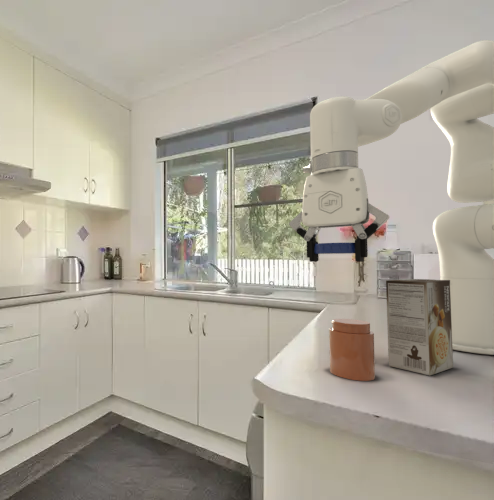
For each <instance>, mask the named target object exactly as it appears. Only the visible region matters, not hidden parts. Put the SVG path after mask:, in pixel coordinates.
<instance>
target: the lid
mask: <svg viewBox="0 0 494 500" xmlns="http://www.w3.org/2000/svg"><path fill="white" fill-rule="evenodd" d="M315 254H318V255H346V254H347V255H348V254H349V255H350V254H351V255H353V254H355V242H321V243H320V242H318V244H315Z"/></svg>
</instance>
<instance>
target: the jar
mask: <svg viewBox="0 0 494 500" xmlns="http://www.w3.org/2000/svg"><path fill="white" fill-rule="evenodd" d="M330 322H331V325H332V327H329V328H328V338H329V340H328V341H329V342H328V343H329V345H328V346H329V347H328V348H329V372H330V373H331V374H332V375H334V376H337V377H339V378H342V379H347V380H352V381H359V382H360V381H361V382H370V381H373V380H375V379H376V361H375V359H376V357H375V332H374V331H371V323H370V322H369V321H366V320H363V319H362V320H361V319H353V318H333V319H331V321H330Z"/></svg>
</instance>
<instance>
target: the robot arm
mask: <svg viewBox="0 0 494 500" xmlns="http://www.w3.org/2000/svg"><path fill="white" fill-rule="evenodd" d="M428 110H429V111H430V115H431V118H432V120H433V122H434V123H435V124H436V126H437V127H438V128H439V129H440V130H441V132H442V133H443V134H444V136H445V137H446V139H447V140H448V143H449V145H450V159H449V167H448V177H447V184H446V185H447V186H446V192H447V195H448V197H449V198H450V200H452V201H453V202H456V203H460V204H472V203H483V202H491V201H494V126H492V125H490V124H488V123H486V122H483V121H482V120H480V119H479V118H484V117H487V116H490V115H493V114H494V40H489V39H488V40H487V39H482V40H478V41H475V42H473V43H471V44H468V45H467V46H464V47H462V48H460V49H458V50H456V51H454V52H451V53H450V54H449V53H448V54H447V55H445V56H442V57H440V58H439V59H436V60H434V61H432V62H429V63H428V64H426V65H424V66H422V67H420V68H419V69H416V70H415V71H413V72H411V73H410V74H408V75H406V76H404V77H403V78H400V79H398V80H397V81H395V82H393V83H392V84H389V85H387V86H386V87H384V88H382V89H380V90H379V91H377V92H375V93H374V94H372V95H370V96H368V97H367V98H365V99H354V98H352V97H351V96H342V95H341V96H333V97H330V98H327V99H324V100H321V101H319V102H318V103H316V104H315V105H314V106H312V108H311V110H310V113H309V136H310V160H309V163H308V164H307V165H303V167H302V172H303V173H304V174H310V175H307V176H306V177H305V181H304V187H303V194H302V205H301V211H300V212H299V213H298V214H297V215H296V216H295V217H294V218H292V219H291V220H290V222H289V224H288V225H289V226H290V227H291V228H292V229H293V230H294V231H295V232H296V234H298V235H299V236H300V237H301V238H302V239H303V240H304V241H305V242H306V257H307V258H308V260H309V263H312V262H313V263H316V262H318V261H320V260H319V257H320V256H319V254H315V244H319V241H317V236H318V235H319V233H320V231H321V229H327V228H342V227H343V228H345V227H352V229H353V231H354V233H355V234H356V235H357V236H356V239H354V243H355V253H354V260H355V262H357V263H364V262H365V258H368V240H369V239H370V238H371V237H372V236H373V235H374V234H375V233H376V232H377V231H378V230H380V228H381V227H382V226H384V224H385V223H387V221H388V220H390V215H389V214H388V213H386V212H384V211H383V210H382V209H381V210H380V208H377V207H376V206H375V205H373V204H371V203H369V194H368V186H367V181H366V177H365V173H364V171H363V168H359V147H363V146H366V145H369V144H373V143H375V142H378V141H381V140H384V139H386V138H388V137H390V136H392V135H393V134H394V133H396V132H397V130H398V129H399V128H400V126H401V125H402V124H405V123H407V122H409V121H411V120H414V119H416V118H417V117H419V116H421V115H422V114H424V113H425V112H427V111H428ZM370 214H371V215H372V216H374V217H375V219H374V220H373V221H372V223H370V224H369V225H367V227H365V224H367V223H368V222H369V221H370ZM301 223H302V225H304V226H305V227H308V228H307V229H305V228H304V227H303V226H302V225H301ZM432 233H433V238H434V241H435V244H436V248H437V253H438V263H439V280H450V299H451V323H452V350H453V351H458V352H464V353H471V354H480V355H488V356H489V355H490V356H494V258H493V257H492V256H491V255H490V254H489V253H488V252H487V251H486V250H491V249H494V203H490V204H488V203H487V204H478V205H469V206H462V207H456V208H451V209H448V210H445V211H443V212H441V213H439V214H438V215H437V216H436V217H435V218H434V220H433V222H432Z"/></svg>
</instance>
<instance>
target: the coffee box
mask: <svg viewBox="0 0 494 500" xmlns="http://www.w3.org/2000/svg"><path fill="white" fill-rule="evenodd" d="M385 290H386V291H385V292H386V293H385V295H386V322H387V324H386V325H387V354H388V355H387V356H388V366H389V367H391V368H395V369H401V370H404V371H409V372H413V373H418V374H421V375H425V376H433V375H435V374H439V373H442V372H444V371H447V370H451V369H453V368H454V357H453V355H454V353H453V352H454V350H453V349H452V323H451V299H450V280H440V279H426V278H425V279H424V278H405V279H403V278H402V279H401V278H400V279H387V280H385Z"/></svg>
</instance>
